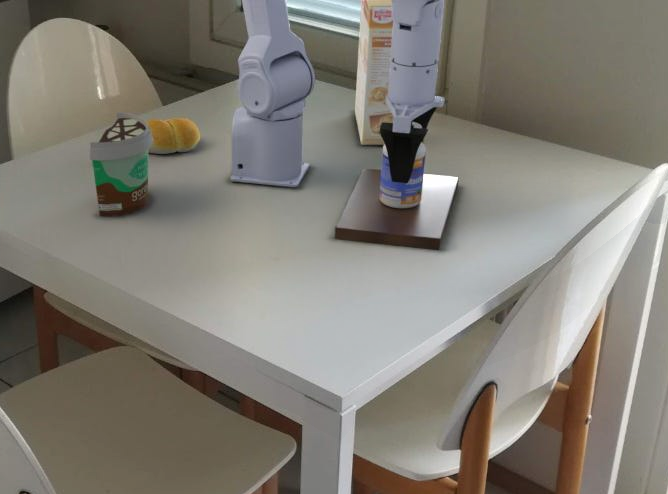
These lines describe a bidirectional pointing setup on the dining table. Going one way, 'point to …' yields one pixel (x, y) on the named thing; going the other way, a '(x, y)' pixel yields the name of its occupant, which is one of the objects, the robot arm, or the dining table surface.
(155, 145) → the bread roll
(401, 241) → the walnut board
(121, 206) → the food container
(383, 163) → the pill bottle
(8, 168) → the dining table surface
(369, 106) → the coffeecake box
